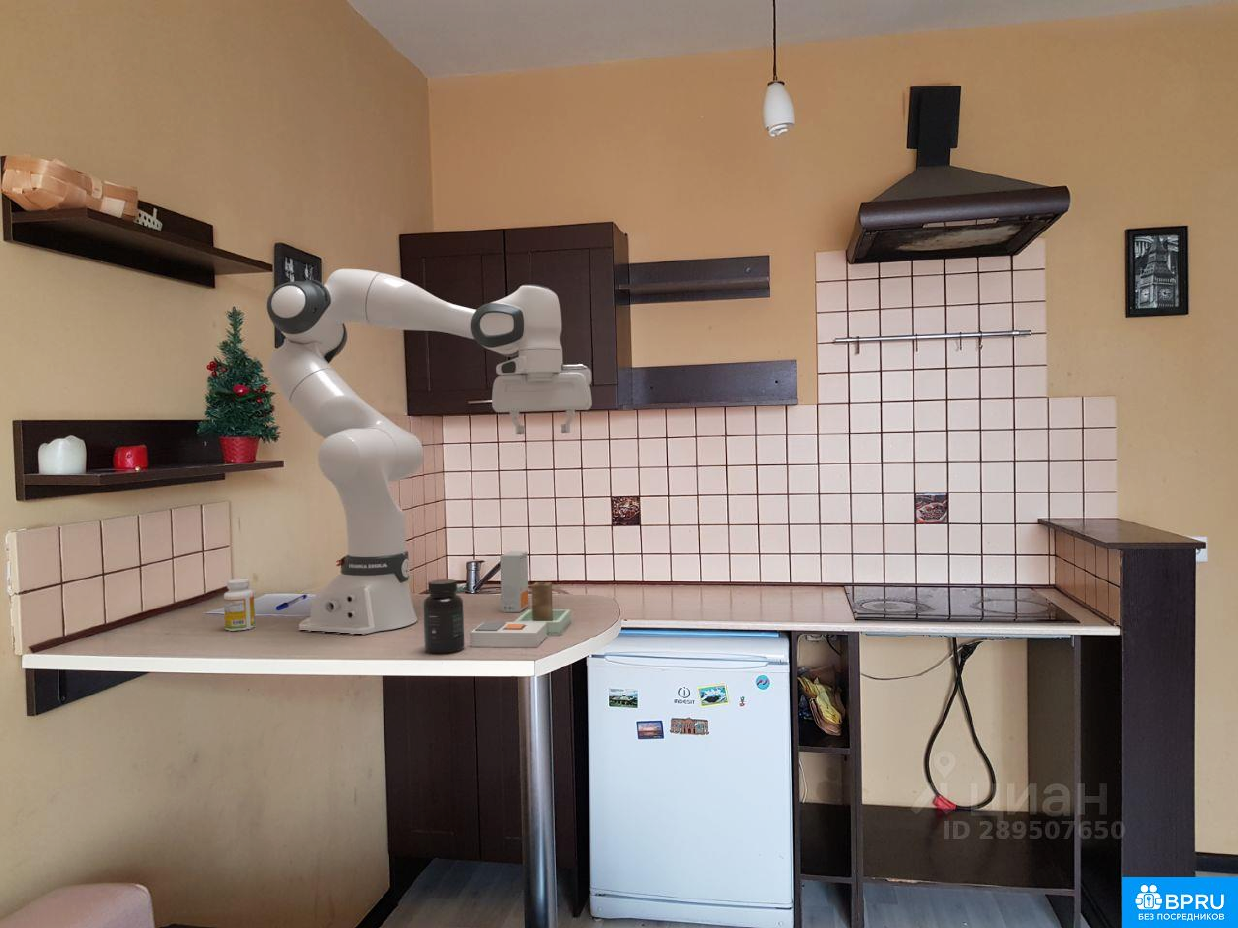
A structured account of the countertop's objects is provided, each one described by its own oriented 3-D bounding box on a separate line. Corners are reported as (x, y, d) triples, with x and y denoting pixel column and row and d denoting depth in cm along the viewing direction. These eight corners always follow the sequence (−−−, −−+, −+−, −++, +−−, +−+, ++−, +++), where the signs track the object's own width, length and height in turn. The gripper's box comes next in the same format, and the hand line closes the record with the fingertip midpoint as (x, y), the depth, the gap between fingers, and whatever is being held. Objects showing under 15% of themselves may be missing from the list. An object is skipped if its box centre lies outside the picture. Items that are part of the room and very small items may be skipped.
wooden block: (532, 627, 156) (531, 584, 155) (536, 623, 159) (535, 581, 158) (549, 627, 155) (548, 584, 155) (553, 623, 158) (551, 581, 158)
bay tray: (514, 635, 152) (513, 621, 152) (528, 621, 163) (528, 609, 163) (559, 635, 151) (559, 622, 151) (571, 621, 162) (570, 609, 162)
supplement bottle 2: (416, 651, 142) (413, 583, 142) (443, 642, 148) (441, 576, 148) (445, 656, 139) (443, 586, 138) (472, 646, 145) (470, 579, 144)
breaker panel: (470, 646, 145) (469, 630, 145) (484, 635, 153) (483, 620, 153) (536, 647, 143) (536, 631, 143) (547, 635, 151) (546, 620, 151)
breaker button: (504, 640, 147) (504, 627, 147) (509, 635, 150) (508, 623, 150) (520, 640, 146) (520, 628, 146) (525, 636, 149) (524, 624, 149)
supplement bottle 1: (244, 624, 167) (242, 576, 166) (261, 627, 164) (258, 578, 164) (219, 630, 162) (217, 581, 162) (236, 633, 159) (234, 583, 159)
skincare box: (520, 612, 171) (518, 555, 171) (501, 612, 172) (499, 555, 172) (529, 606, 177) (527, 551, 177) (510, 605, 178) (509, 550, 178)
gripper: (593, 364, 169) (595, 432, 170) (497, 368, 172) (499, 434, 173) (588, 362, 163) (590, 432, 163) (488, 366, 166) (490, 435, 166)
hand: (542, 433), depth 168 cm, fingers open, 8 cm apart
